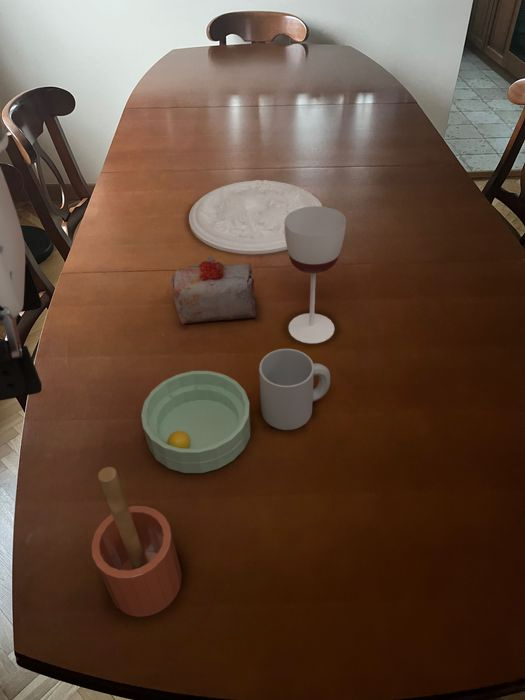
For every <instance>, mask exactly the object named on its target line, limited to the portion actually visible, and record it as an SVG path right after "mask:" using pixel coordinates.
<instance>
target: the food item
mask: <svg viewBox="0 0 525 700" xmlns="http://www.w3.org/2000/svg"><path fill="white" fill-rule="evenodd" d="M170 284H171V290H172V292H173V299H174V303H175V309H176V312H177V316H178V318H179V320H180V322H181V324H182V325H190V324H197V323H205V322H216V321H232V320H240V319H256V318H257V314H258V313H257V301H256V298H255V286H254V285H255V279H254V277H253V270H252V264H251V263H250V262H249V263H231V264H222V263H221V262H220V261H216V260H215V259H214V257H213V256H212V255H210V256H209V257H207V259H206V260H204V261H201V262H200V264H194V265H191V266H189V267H183V268H178V269H177V270H176V271H175V273H173V274H172V275H171V278H170Z"/></svg>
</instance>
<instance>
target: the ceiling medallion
mask: <svg viewBox="0 0 525 700" xmlns="http://www.w3.org/2000/svg"><path fill="white" fill-rule="evenodd" d="M312 206H320V207H324V206H323V204H322V203H321V201H320V200H319V199H318V198H317V197H316V196H315V195H314V194H312V193H311V192H309V191H308V190H306V189H304V188H301V187H299V186H297V185H294V184H291V183H286V182H282V181H275V180H267V179H263V180H262V179H261V180H260V179H255V180H246V181H239V182H233V183H229V184H226V185H223V186H220V187H217V188H215V189H213V190H212V191H210V192H208V193H206V194H205V195H203V196H201V197H200V198H199V199H197V201H196V202H195V203H194V204H193V206H192V207H191V209H190V211H189V214H188V222H189V228H190V230H191V232H192V233H193V235H194V236H195V237H196V238H197V239H198V240H199V241H201V242H203V243H204V244H206V245H207V246H210V247H211V248H214V249H217V250H220V251H223V252H227V253H233V254H240V255H265V254H273V253H278V252H279V253H280V252H283V251H286V250H287V251H288V249H287V244H286V238H285V218H286V216H287V215H288V214H289V213H291V212H293V211H295V210H297V209H300V208H304V207H312Z"/></svg>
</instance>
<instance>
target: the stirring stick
mask: <svg viewBox="0 0 525 700" xmlns="http://www.w3.org/2000/svg"><path fill="white" fill-rule="evenodd" d="M97 478H98V480H99V483H100V486H101V488H102V491H103V495H104V497H105V499H106V502H107V504H108V507H109V510H110V512H111V514H112V515H113V518H114V520H115V523H116V526H117V528H118V531H119V534H120V536H121V539H122V541H123V544H124V547H125V549H126V552H127V555H128V557H129V560H130V563H131V565H132V568H133V570H134V569H137V568H141V567H142V566H144V565H146V564H147V561H146V558H145V555H144V552H143V549H142V546H141V543H140V540H139V537H138V534H137V531H136V528H135V525H134V522H133V519H132V516H131V513H130V510H129V508H128V507H129V505H128V502H127V500H126V496H125V493H124V491H123V487H122V484H121V482H120V481H121V480H120V478H119V475H118V473H117V470H116V468H114V467H113V466H106V467H103V468H102V469H100V470H99V472H98V474H97Z"/></svg>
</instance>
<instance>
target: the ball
mask: <svg viewBox="0 0 525 700" xmlns="http://www.w3.org/2000/svg"><path fill="white" fill-rule="evenodd" d="M167 444H168V445H170V446H174V447H177V448H181V449H188V448H189V446H190V437H189V436H188V434H187V433H185V432H183V431H175V432H173V433H172V434H170V436H169V437H168V441H167Z"/></svg>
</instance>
